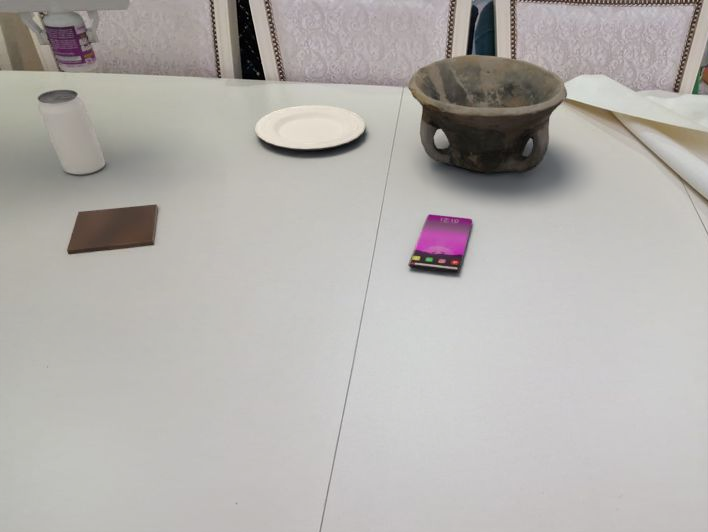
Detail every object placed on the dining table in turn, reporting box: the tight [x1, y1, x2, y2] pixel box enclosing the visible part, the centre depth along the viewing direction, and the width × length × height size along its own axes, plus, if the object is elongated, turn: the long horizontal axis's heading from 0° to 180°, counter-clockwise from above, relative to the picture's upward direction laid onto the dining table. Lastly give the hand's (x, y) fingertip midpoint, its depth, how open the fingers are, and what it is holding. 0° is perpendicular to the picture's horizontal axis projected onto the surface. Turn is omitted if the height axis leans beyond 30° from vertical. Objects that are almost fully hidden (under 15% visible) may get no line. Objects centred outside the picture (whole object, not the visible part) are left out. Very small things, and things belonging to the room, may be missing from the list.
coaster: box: [66, 203, 158, 255], centre depth 91 cm, size 11×11×1 cm
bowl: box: [407, 54, 568, 174], centre depth 109 cm, size 27×26×15 cm
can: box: [37, 89, 106, 176], centre depth 101 cm, size 6×6×12 cm
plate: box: [254, 104, 366, 152], centre depth 119 cm, size 21×21×2 cm
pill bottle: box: [42, 2, 99, 74], centre depth 93 cm, size 5×5×10 cm
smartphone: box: [407, 213, 473, 274], centre depth 92 cm, size 7×15×1 cm, turn 172°
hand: (71, 43), depth 94 cm, fingers closed on pill bottle, 5 cm apart
